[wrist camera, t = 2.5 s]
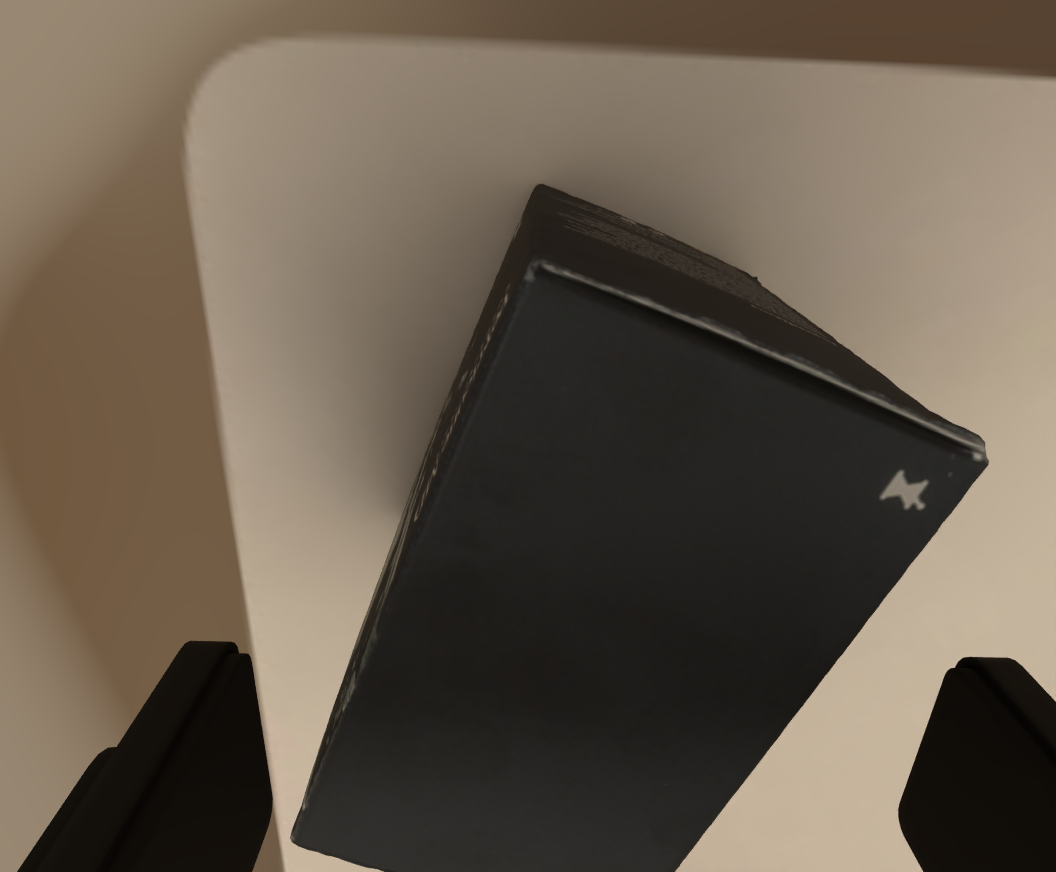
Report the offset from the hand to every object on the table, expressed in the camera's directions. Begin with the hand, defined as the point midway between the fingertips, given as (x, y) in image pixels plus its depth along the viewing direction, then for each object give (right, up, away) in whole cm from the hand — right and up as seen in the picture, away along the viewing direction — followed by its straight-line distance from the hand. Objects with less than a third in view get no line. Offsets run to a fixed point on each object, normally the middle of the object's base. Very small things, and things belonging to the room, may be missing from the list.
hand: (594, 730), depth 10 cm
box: (0, +5, +10) cm, 11 cm away
